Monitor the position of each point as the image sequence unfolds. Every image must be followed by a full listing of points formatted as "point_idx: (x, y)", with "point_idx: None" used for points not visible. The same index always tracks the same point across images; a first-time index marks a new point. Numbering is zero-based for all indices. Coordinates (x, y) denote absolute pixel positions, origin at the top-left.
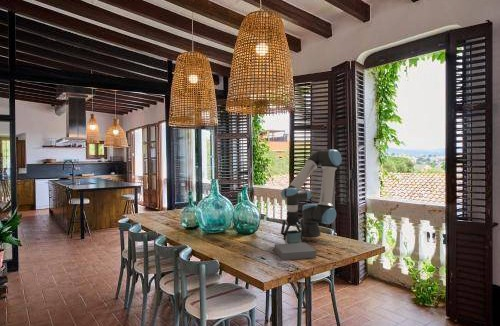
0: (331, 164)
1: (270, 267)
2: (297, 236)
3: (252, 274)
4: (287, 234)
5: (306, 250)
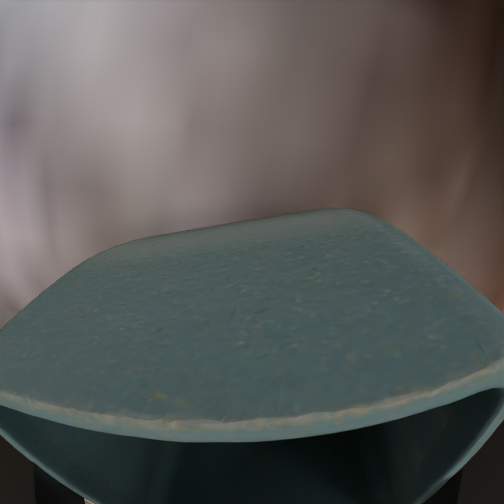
0: None
1: None
2: (314, 485)
3: (86, 499)
4: (105, 481)
5: None
